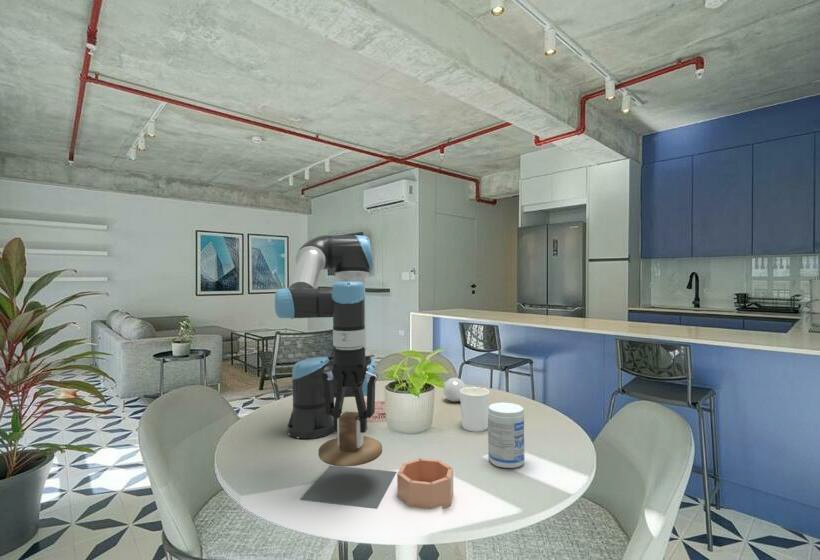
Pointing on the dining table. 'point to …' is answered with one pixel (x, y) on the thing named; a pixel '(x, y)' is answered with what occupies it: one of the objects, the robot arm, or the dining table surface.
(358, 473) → the mat
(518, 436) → the supplement tub
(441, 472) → the bowl
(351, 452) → the lid
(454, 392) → the potion bottle
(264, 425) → the dining table surface
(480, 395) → the candle holder
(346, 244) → the robot arm
